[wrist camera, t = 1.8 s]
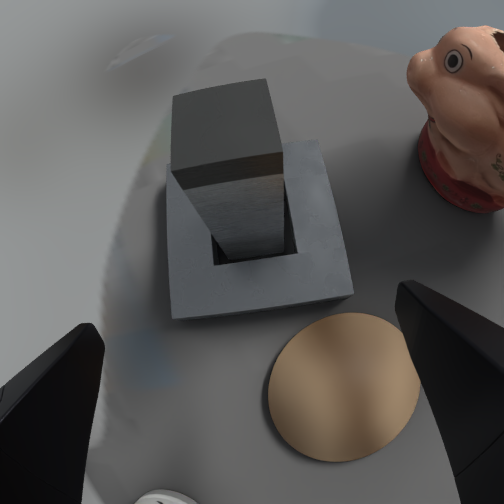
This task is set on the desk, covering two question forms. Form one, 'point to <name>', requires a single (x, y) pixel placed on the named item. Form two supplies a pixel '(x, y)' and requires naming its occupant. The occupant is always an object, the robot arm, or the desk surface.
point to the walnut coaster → (343, 387)
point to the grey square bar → (232, 165)
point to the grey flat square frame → (268, 269)
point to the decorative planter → (463, 116)
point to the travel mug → (164, 498)
